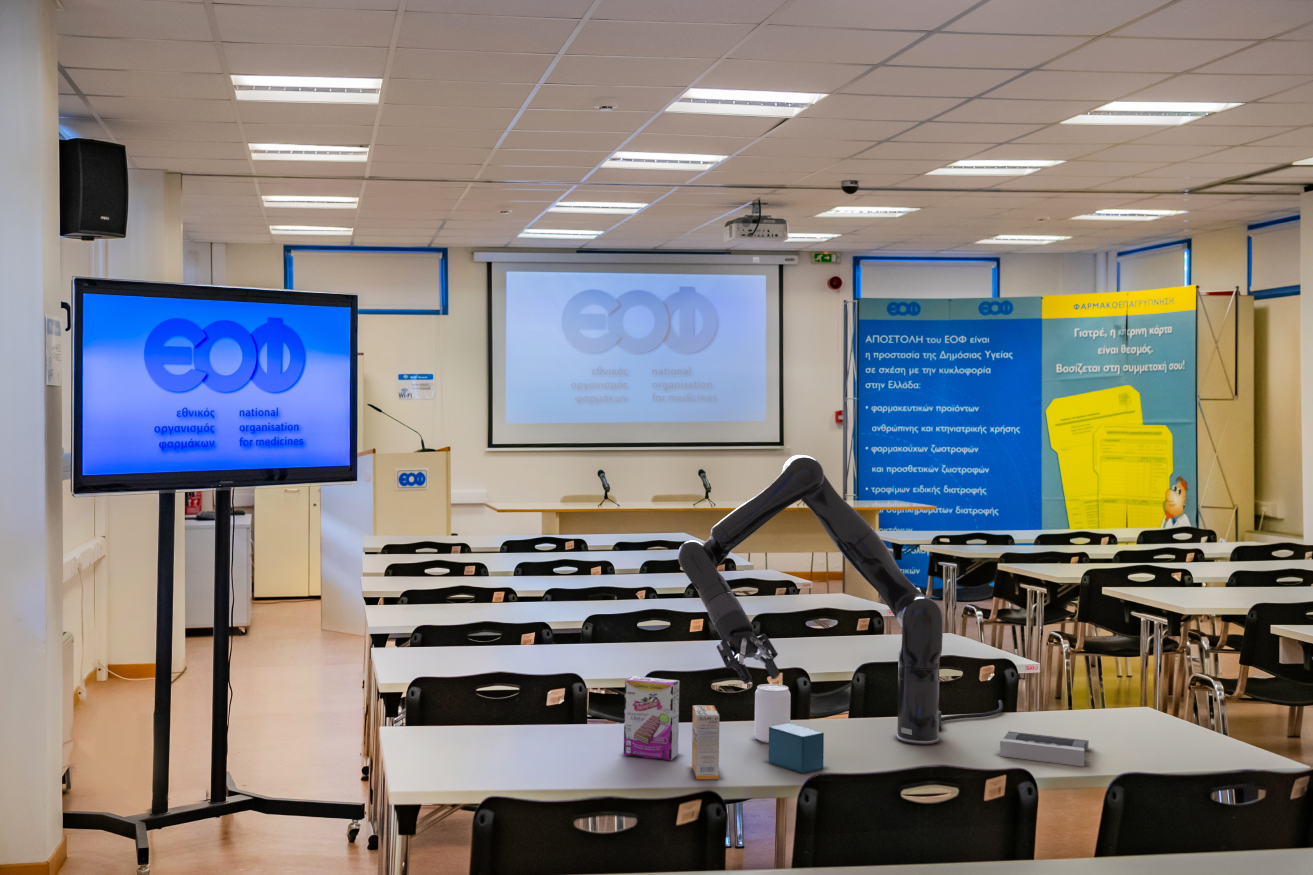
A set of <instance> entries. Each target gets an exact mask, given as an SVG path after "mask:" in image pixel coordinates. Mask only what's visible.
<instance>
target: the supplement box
mask: <svg viewBox="0 0 1313 875" xmlns="http://www.w3.org/2000/svg"><path fill="white" fill-rule="evenodd" d="M691 731H692V733H691V738H692V739H691V768H692V770H693V772H694V775H695V778H696V780H719V778H720V713H719V712H718V710H717V708H716V707H715V705H702V704H701V705H700V704H698V705H697V704H696V705H695V704H694V705H692V729H691Z"/></svg>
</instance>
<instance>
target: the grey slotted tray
mask: <svg viewBox="0 0 1313 875" xmlns="http://www.w3.org/2000/svg"><path fill="white" fill-rule="evenodd" d="M1089 741H1090V740H1088V739H1083V738H1082V739H1081V738H1072V737H1066V736H1065V737H1064V736H1054V735H1047V734H1040V733H1039V734H1038V733H1030V732H1022V731H1012V730H1008V731H1007V733H1005V736H1004V737H1003V738H1000V740H999V756H1000V757H1006V758H1014V759H1020V760H1027V761H1028V760H1030V761H1037V762H1044V763H1054V764H1061V765H1069V766H1077V767H1085V754H1086V751H1089V749H1090V748H1089V745H1090V744H1089V743H1090V742H1089Z"/></svg>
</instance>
